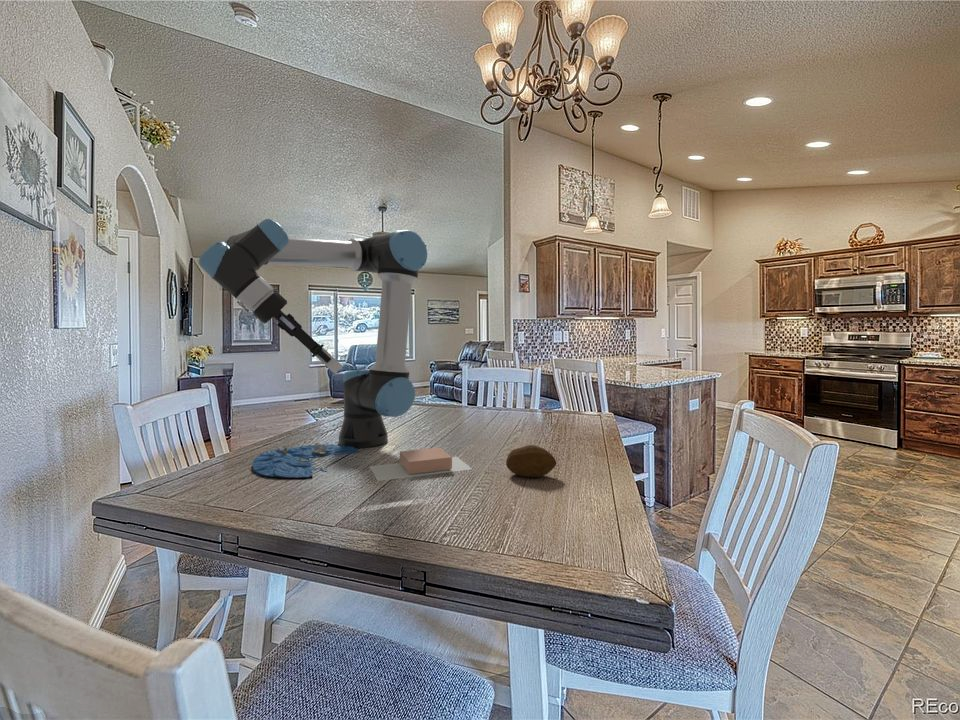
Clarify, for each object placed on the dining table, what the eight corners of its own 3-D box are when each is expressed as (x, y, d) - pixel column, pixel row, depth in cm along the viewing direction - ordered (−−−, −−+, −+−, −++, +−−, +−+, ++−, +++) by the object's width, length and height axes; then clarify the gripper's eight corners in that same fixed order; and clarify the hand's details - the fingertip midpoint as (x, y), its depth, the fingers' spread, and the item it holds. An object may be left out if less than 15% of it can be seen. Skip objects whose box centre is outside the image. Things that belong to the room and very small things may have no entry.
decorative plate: (382, 454, 142) (382, 437, 142) (343, 487, 113) (344, 465, 112) (288, 446, 145) (289, 430, 145) (227, 477, 115) (227, 456, 115)
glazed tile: (399, 451, 124) (439, 447, 128) (399, 464, 124) (439, 459, 128) (409, 462, 114) (451, 457, 119) (409, 475, 115) (451, 470, 119)
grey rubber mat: (369, 469, 122) (369, 466, 122) (456, 459, 131) (456, 456, 131) (377, 484, 111) (377, 480, 111) (472, 472, 120) (472, 469, 120)
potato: (505, 470, 122) (505, 440, 121) (553, 471, 122) (554, 441, 121) (506, 480, 114) (506, 449, 113) (557, 481, 114) (558, 450, 113)
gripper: (252, 313, 116) (325, 377, 123) (249, 312, 104) (330, 384, 111) (275, 291, 117) (346, 357, 125) (275, 288, 105) (353, 361, 113)
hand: (338, 369), depth 118 cm, fingers closed
